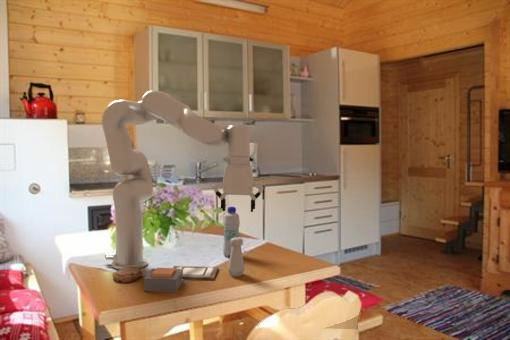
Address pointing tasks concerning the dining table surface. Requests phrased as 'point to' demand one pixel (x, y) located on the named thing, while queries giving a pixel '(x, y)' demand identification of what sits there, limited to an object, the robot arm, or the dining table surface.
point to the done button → (164, 272)
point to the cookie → (127, 275)
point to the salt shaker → (236, 258)
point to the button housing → (163, 282)
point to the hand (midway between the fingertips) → (237, 210)
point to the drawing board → (198, 272)
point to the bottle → (230, 229)
